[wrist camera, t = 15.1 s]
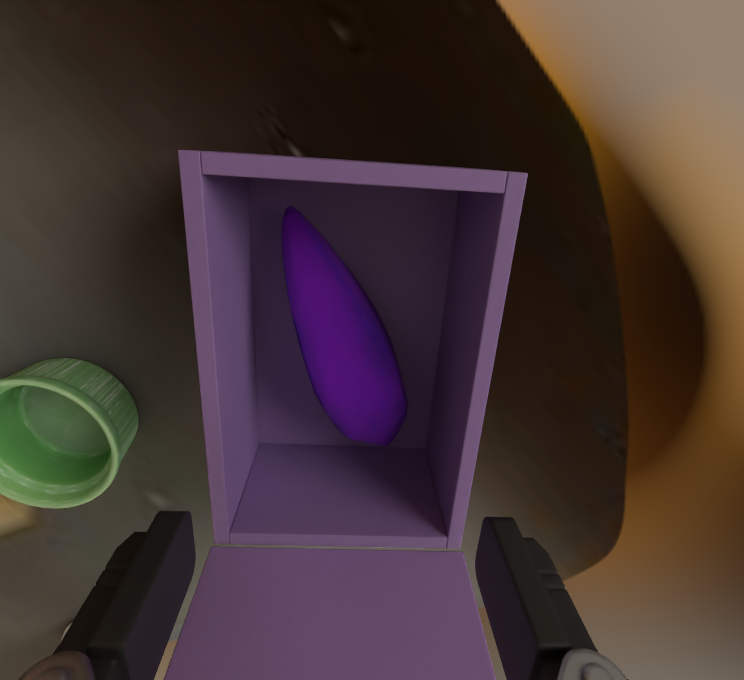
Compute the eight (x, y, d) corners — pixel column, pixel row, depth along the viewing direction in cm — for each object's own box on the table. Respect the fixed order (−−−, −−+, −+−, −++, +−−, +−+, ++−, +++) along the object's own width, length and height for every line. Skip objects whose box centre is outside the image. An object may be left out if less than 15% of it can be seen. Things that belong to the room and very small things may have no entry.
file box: (236, 152, 24) (177, 149, 16) (472, 168, 25) (528, 173, 17) (250, 444, 32) (214, 544, 23) (434, 450, 32) (460, 549, 24)
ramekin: (94, 485, 32) (56, 532, 28) (-20, 404, 30) (-79, 443, 26) (176, 414, 30) (148, 453, 26) (62, 320, 28) (12, 348, 24)
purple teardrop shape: (323, 187, 21) (431, 452, 25) (333, 191, 26) (422, 413, 30) (231, 226, 21) (351, 480, 25) (257, 223, 26) (355, 437, 30)
